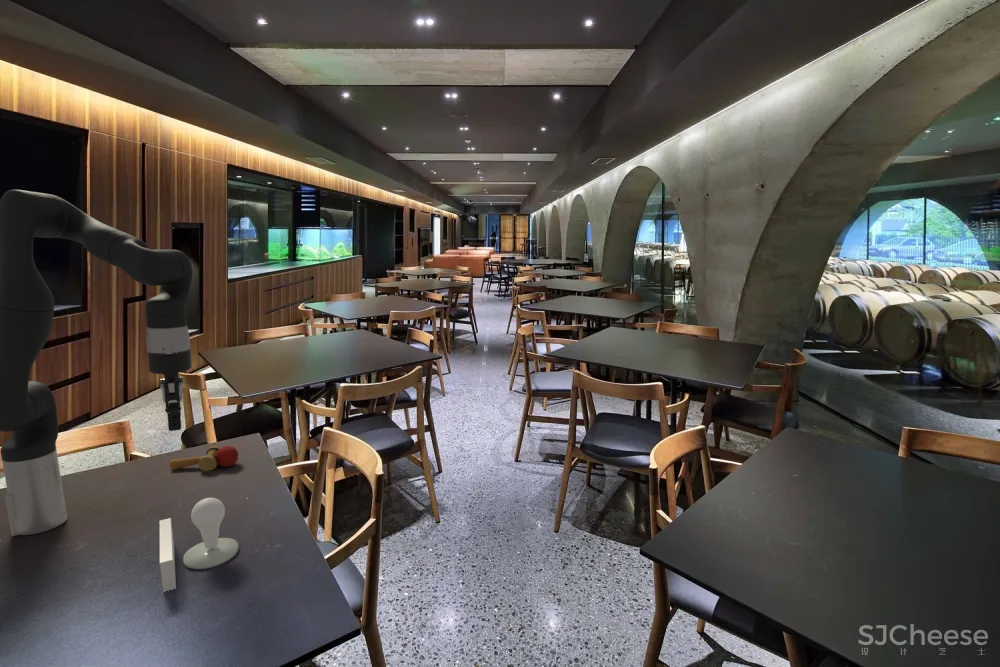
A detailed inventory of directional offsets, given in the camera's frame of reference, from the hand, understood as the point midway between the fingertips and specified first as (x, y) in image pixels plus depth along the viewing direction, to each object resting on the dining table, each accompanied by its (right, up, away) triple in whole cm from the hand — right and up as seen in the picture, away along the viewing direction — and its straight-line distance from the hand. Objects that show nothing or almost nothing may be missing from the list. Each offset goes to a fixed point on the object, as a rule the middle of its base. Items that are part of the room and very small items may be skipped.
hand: (175, 423), depth 111 cm
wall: (+2, -28, -6) cm, 28 cm away
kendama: (-17, -20, +42) cm, 49 cm away
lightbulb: (+8, -26, -1) cm, 27 cm away
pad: (+9, -27, -2) cm, 28 cm away
